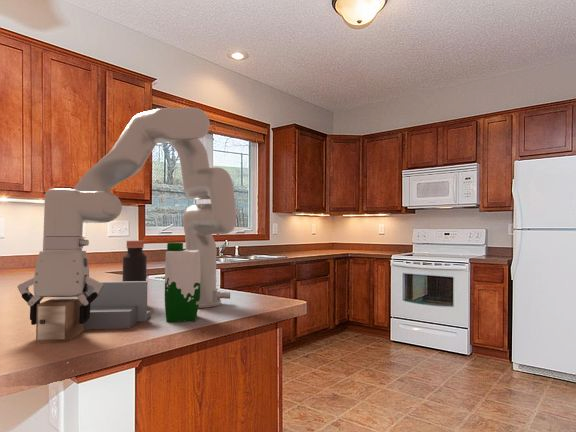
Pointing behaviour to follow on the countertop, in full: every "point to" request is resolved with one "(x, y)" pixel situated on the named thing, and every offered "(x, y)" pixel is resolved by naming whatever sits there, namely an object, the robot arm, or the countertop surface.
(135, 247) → the bottle
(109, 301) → the wall board
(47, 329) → the tan wooden block
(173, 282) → the milk carton
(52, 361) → the countertop surface
